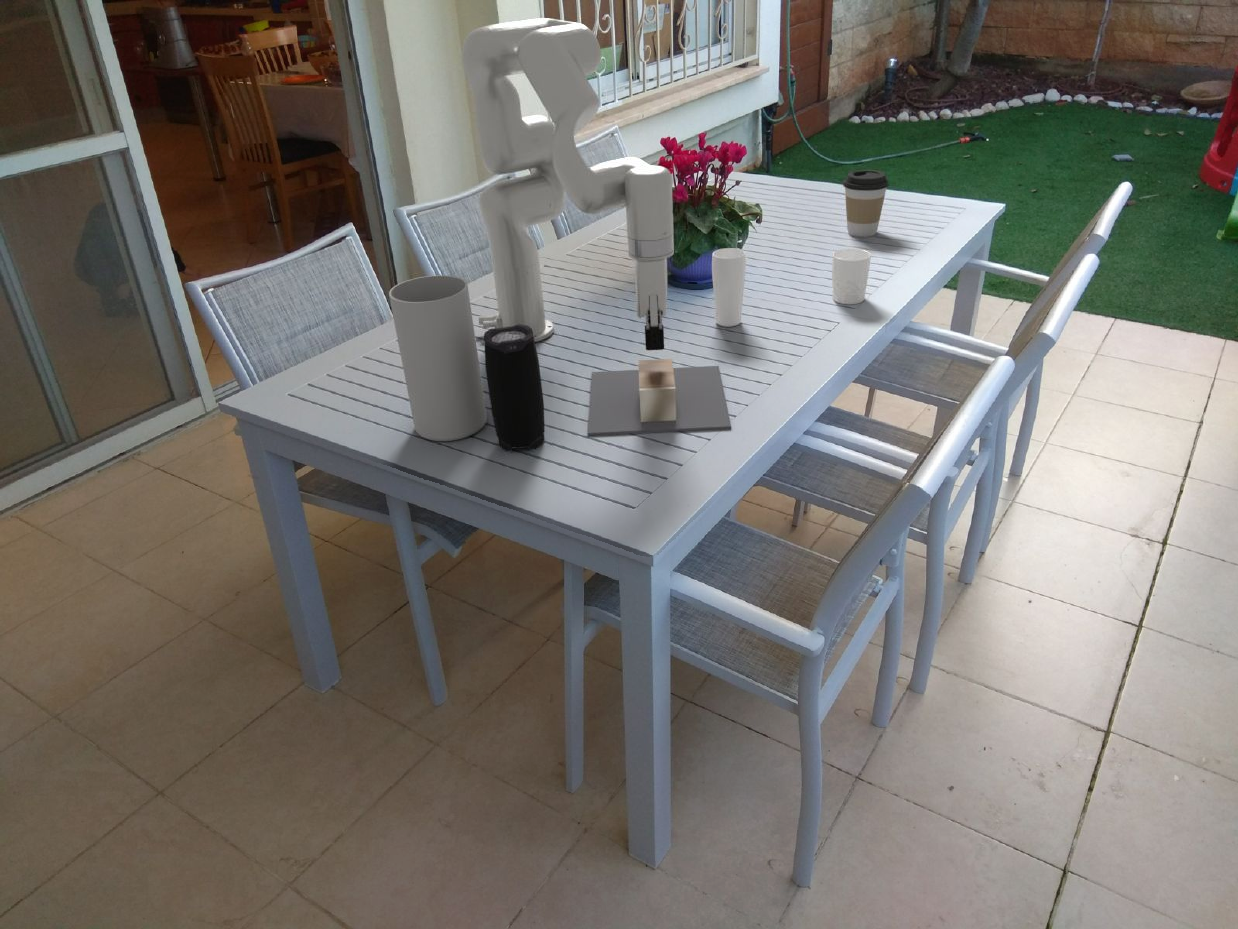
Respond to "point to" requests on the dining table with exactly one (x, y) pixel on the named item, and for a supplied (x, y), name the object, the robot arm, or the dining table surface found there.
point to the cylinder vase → (439, 356)
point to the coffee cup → (864, 201)
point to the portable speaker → (515, 387)
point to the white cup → (850, 275)
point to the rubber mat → (621, 402)
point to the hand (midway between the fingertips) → (654, 347)
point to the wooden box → (657, 390)
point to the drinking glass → (728, 285)
